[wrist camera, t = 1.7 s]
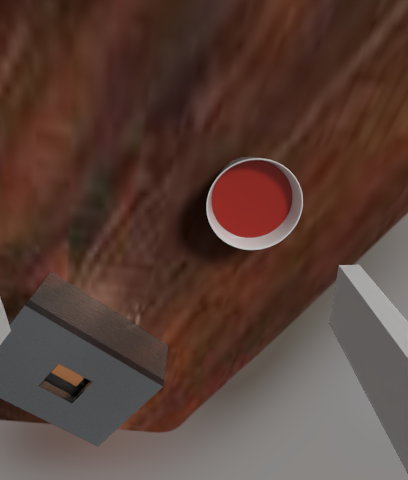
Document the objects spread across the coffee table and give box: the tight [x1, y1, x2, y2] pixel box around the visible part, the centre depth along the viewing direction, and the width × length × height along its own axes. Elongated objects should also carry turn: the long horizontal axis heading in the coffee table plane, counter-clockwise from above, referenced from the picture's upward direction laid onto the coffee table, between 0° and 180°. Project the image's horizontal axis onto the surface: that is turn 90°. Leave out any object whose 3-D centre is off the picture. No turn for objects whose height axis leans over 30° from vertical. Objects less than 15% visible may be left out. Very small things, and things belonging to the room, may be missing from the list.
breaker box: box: [0, 271, 168, 446], centre depth 44 cm, size 18×14×7 cm
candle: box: [206, 157, 303, 250], centre depth 35 cm, size 9×9×6 cm
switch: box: [51, 363, 84, 386], centre depth 43 cm, size 4×4×2 cm
